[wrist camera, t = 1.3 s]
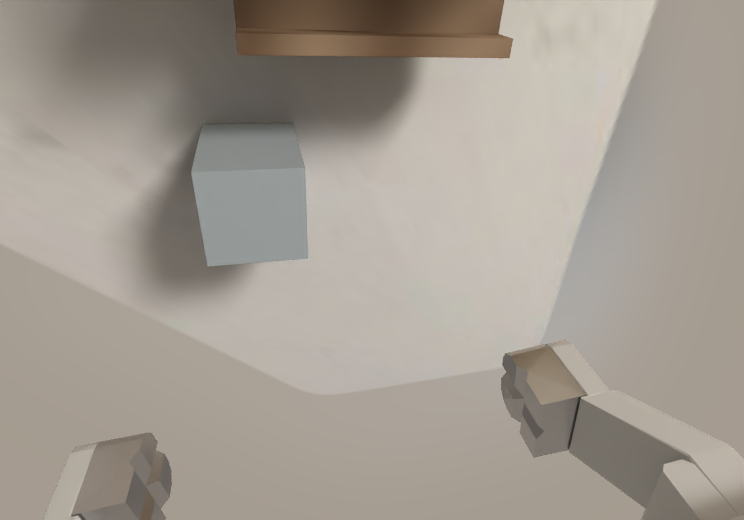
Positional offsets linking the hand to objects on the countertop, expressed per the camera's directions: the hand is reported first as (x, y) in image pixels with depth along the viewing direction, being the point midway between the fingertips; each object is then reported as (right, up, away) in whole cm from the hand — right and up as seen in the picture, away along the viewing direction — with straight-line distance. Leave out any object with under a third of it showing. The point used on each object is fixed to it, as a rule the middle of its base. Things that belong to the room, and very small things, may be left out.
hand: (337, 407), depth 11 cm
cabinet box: (-6, +9, +17) cm, 21 cm away
